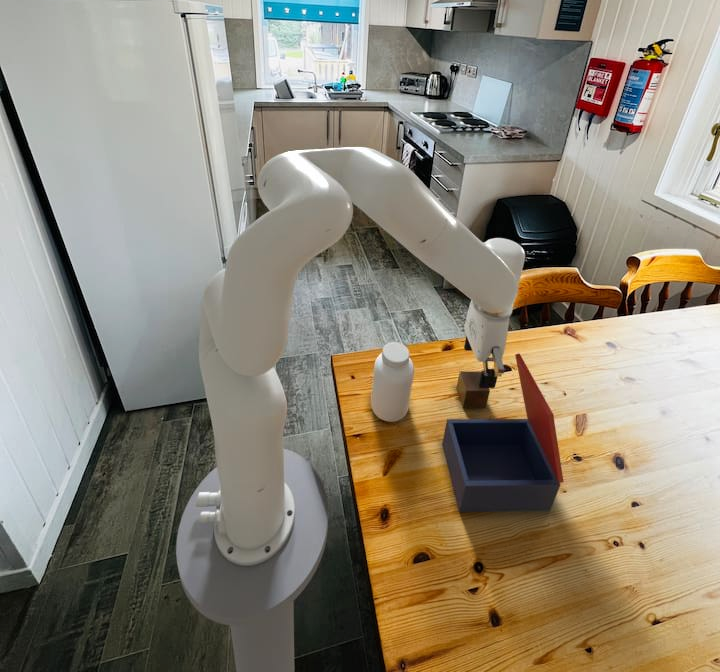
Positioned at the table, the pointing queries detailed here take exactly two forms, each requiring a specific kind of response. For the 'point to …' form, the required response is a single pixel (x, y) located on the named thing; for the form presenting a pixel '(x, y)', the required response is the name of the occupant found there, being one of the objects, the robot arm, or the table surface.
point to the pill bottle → (392, 382)
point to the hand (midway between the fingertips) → (478, 367)
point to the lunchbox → (498, 466)
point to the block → (471, 390)
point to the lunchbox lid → (540, 417)
